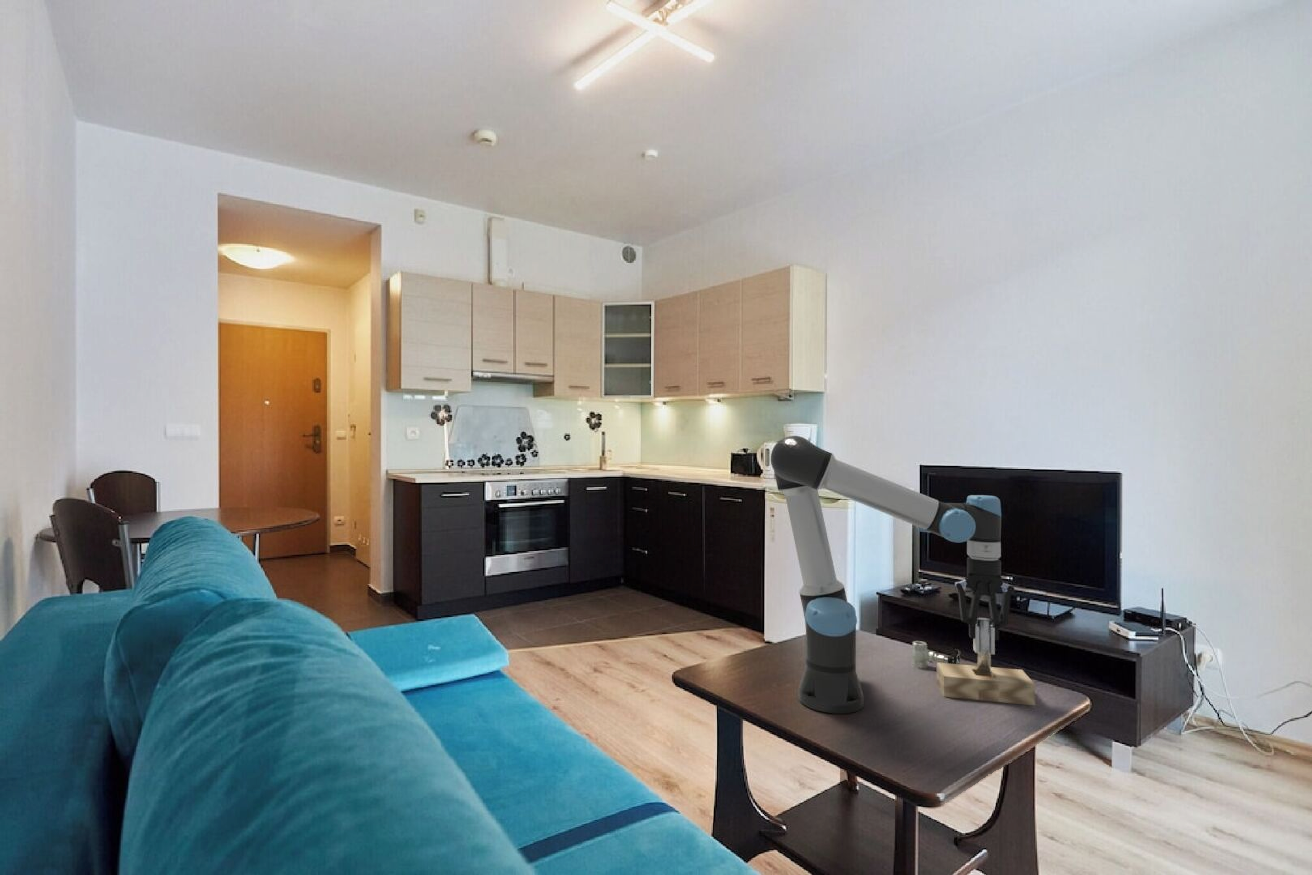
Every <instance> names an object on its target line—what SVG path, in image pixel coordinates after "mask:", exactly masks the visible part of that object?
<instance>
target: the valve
mask: <svg viewBox="0 0 1312 875" xmlns="http://www.w3.org/2000/svg"><path fill="white" fill-rule="evenodd" d="M953 652H954V653H952V654H951V655H950V656H947V657H946V656H945V655H941V654H939V655H937V654H936V652H935V651H933V650H932V651H931V650H930V651H928V644H927V643H926V641H920V640H914V641H912V651H911V657H912V666H913V668H917V669H927V668H928V662H929V663H930V664H933V663H935V662H936V661H938V663H949V664H960V663H961V660H962V658H961V656H960V655H961V651H960V650H959V649H957V648H955V649H954V651H953ZM927 661H928V662H927Z"/></svg>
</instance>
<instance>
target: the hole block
mask: <svg viewBox="0 0 1312 875" xmlns="http://www.w3.org/2000/svg"><path fill="white" fill-rule="evenodd" d="M936 683H937V685H938V687H939V689H940V692H941V693H942V695H943V697H944V698H954V699H964V700H965V699H966V700H972V701H973V700H974V701H985V702H993V703H994V702H996V703H1005V704H1006V703H1007V704H1016V705H1017V704H1018V705H1027V706H1036V684H1035V682H1034V681H1033V680H1032V679H1031V678H1030V677H1029V676H1028V675H1027V673H1026V672H1025V671H1024V670H1023V669H1017V668H1005V667H994V666H991V673H990V674H983V673H980V672H978V671H977V665H969V664H960V663H959V664H949V663H948V662H944V663H942V662H936Z"/></svg>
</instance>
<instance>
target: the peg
mask: <svg viewBox="0 0 1312 875" xmlns="http://www.w3.org/2000/svg"><path fill="white" fill-rule="evenodd" d="M976 624H977V626H979V653H976V654H977V656H976V659H977V660H976V661H977V662H976V664H977V665H976V666H977V671H978V672H980V673H983V674H990V673H991V667H992V656H991V655H992V654H991V625H992V621H991V618H987V617H977V620H976Z"/></svg>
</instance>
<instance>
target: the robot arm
mask: <svg viewBox="0 0 1312 875" xmlns="http://www.w3.org/2000/svg"><path fill="white" fill-rule="evenodd" d="M770 465H771V467H772V469H773V473H774V477H775V481H776V487H777V491H778V492H779V493H781V494H782V495H784V496H785V497H784V498H785V501H786V502H785V503H786V507H787V511H788V512H787V513H788V517H789V521H790V526H791V530H792V534H793V540H794V545H795V550H796V554H797V555H796V556H797V559H798V565H799V568H800V573H801V578H802V583H803V584H802V587H801V588H800V589H799V596H800V600H801V601H800V602H801V606H802V607H801V608H802V612H803V617H804V624H805V669H804V671H803V673H802V676H801V680H800V682H799V686H798V690H797V691H798V693H797V694H798V696H797V698H798V700H799V702H800V703H801V704H802V705H804V706H806V707H807V708H809V709H812V710H815V711H819V712H823V713H828V714H841V715H842V714H850V713H851V714H852V713H855V712H858V711H859V710H861V709H862V708H863V707H864V703H865V702H864V693H863V690H862V685H861V683H860V680H859V677H858V674H857V662H856V661H857V631H856V630H857V623H858V618H857V613H856V612H857V610H856V609H855V607H854V605H853V604H852V603H850V602H849V601H848V599H847V592H846V590H845V584H843V583H842V582H841V581H839V580H838V578H837V575H836V571H835V565H834V561H833V555H832V552H831V546H830V541H829V536H828V533H827V528H826V522H825V519H824V514H823V513H824V512H823V508H822V504H821V499H820V495H819V490H821V489H825V490H828V491H830V492H832V493H835V494H837V495H840V496H843V497H844V498H848V499H849V500H852V501H854V502H857V503H858V504H861V505H864V506H866V507H869V508H872V509H874V510H877V511H879V512H881V513H884V514H886V515H889V516H892V517H894V518H896V519H898V520H901V521H903V522H906V523H908V524H911V525H913V526H915V527H916V529H917V530H918V531H919V532H922V533H929V534H931V533H933V534H935V535H937V536H940V537H942V538H944V539H946V540H947V541H948V542H951V543H965V542H966V554H967V555H968V557H967V558H966V576H964V579H963V580H960V581H955V582H954V586H955V588H956V590H957V595H958V605H959V614H960V620H961V621H962V622H963V623H964V624H967V625H968V636H969V638H970V639H973V640H972V641H973V644H972V647H973V649H972V650H973V651H974V653H975V654H977V653H979V626H977V618H978V612H979V606H980V601H981V596H986V597H987V600H988V608H989V613H990V620H991V655H996V653H995V651H996V648H995V646H996V644H995V642H996V641H999V640H1000V628H1001V627H1003V626H1008V624H1009V615H1010V607H1011V598H1012V594H1013V593H1014V591H1015V587H1014V586H1012V585H1011V584H1009V583H1005V582H1004V580H1003V579H1002V561H1001V560H1000V558H1001V557H1002V554H1001V553H1002V548H1001V547H1002V546H1001V545H1002V544H1001V541H1002V540H1001V539H1002V538H1001V536H1002V535H1001V534H1002V531H1001V530H1002V507H1001V506H1002V505H1001V500H1000V498H998V497H997V496H995V495H987V494H986V495H984V494H981V495H980V494H977V495H974V494H971V495H968V496H967V497H966V501H965V502H962V503H961V502H960V503H956V502H955V503H953V502H942V501H939V500H938V499H935V498H932V497H930V496H928V495H926V494H923V493H920V492H918V491H915V490H913V489H910V488H908V487H906V486H903V485H901V484H898V483H895V482H893V481H890V480H888V479H885V478H883V477H881V476H878V475H876V474H874V473H870V472H868V471H866V470H864V469H861V468H858V467H856V466H854V465H850V464H849V463H845V462H843V461H841V460H838V459H837V458H836V457H835V455H834V453H832V452H830V451H827V450H825V449H823V448H821V447H819V446H818V445H815V444H814V443H812V442H811V441H810V440H808V439H807V438H805V437H802V436H800V435H791V436H790V435H789V436H786V437H782V438H781V439H780V440H778V442H776V443H775V444H774V446H773V448H772V451H771V453H770ZM967 586H968V587H969V589H970V590H971V592H972V593H971V602H970V608H969V614H968V608H967V599H966V593H965V590H966V589H967ZM999 589H1001V591H1002V595H1001V606H1000V614H999V612H998V606H997V597H996V593H997V592H998V591H999Z"/></svg>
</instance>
